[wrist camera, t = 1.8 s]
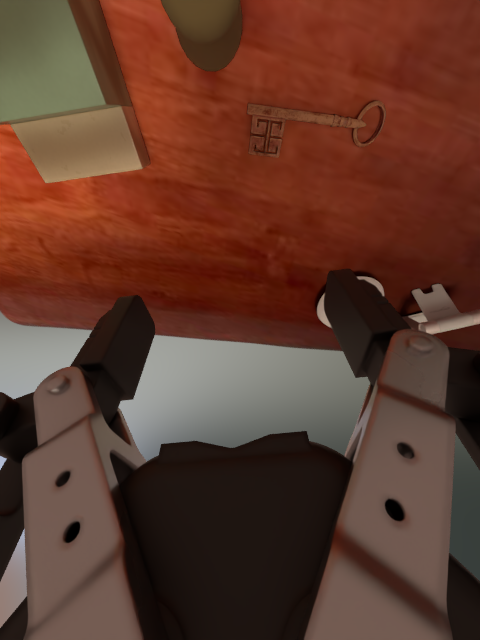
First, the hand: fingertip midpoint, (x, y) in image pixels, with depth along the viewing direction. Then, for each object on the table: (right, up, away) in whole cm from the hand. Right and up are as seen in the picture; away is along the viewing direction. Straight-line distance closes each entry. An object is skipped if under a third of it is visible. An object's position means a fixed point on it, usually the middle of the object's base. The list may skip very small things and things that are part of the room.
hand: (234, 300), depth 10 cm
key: (+8, +21, +16) cm, 27 cm away
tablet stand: (+34, +2, +34) cm, 48 cm away
